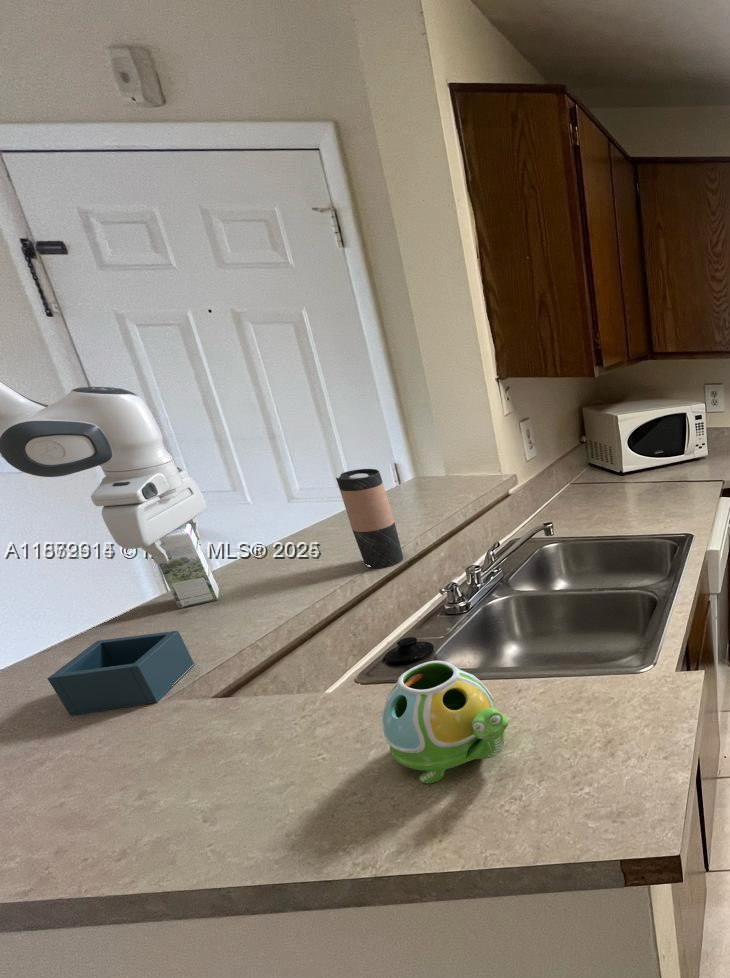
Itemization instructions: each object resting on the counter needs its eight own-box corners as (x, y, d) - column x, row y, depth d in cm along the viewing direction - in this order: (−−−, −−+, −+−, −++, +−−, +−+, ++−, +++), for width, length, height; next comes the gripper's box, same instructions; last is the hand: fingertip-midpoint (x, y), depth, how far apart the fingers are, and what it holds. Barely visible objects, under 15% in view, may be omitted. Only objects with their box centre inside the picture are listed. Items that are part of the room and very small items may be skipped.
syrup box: (219, 589, 121) (190, 521, 115) (219, 600, 117) (188, 531, 111) (180, 597, 118) (148, 528, 112) (178, 609, 114) (144, 538, 108)
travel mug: (412, 559, 135) (387, 472, 126) (375, 572, 129) (347, 481, 120) (393, 551, 138) (367, 466, 130) (356, 564, 132) (327, 475, 124)
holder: (69, 715, 87) (46, 678, 84) (116, 675, 95) (97, 640, 93) (157, 702, 90) (137, 666, 87) (195, 664, 98) (178, 630, 96)
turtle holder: (468, 811, 72) (444, 732, 67) (372, 762, 79) (345, 687, 74) (549, 745, 82) (533, 672, 77) (458, 706, 89) (438, 637, 84)
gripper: (159, 465, 116) (190, 532, 122) (82, 500, 98) (122, 577, 104) (200, 462, 118) (228, 528, 123) (131, 496, 100) (168, 572, 106)
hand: (179, 551), depth 113 cm, fingers open, 8 cm apart
